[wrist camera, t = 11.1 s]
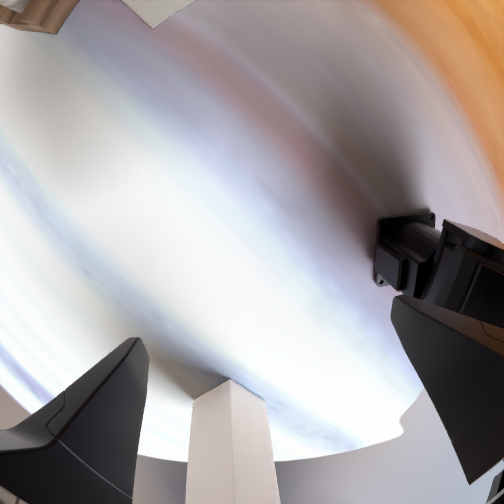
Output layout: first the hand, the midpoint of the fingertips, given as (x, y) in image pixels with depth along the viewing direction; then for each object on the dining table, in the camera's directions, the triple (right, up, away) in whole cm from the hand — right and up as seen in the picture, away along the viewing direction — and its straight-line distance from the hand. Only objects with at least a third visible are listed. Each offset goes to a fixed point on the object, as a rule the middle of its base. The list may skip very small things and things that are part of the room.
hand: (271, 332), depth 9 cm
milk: (-3, -14, +20) cm, 24 cm away
